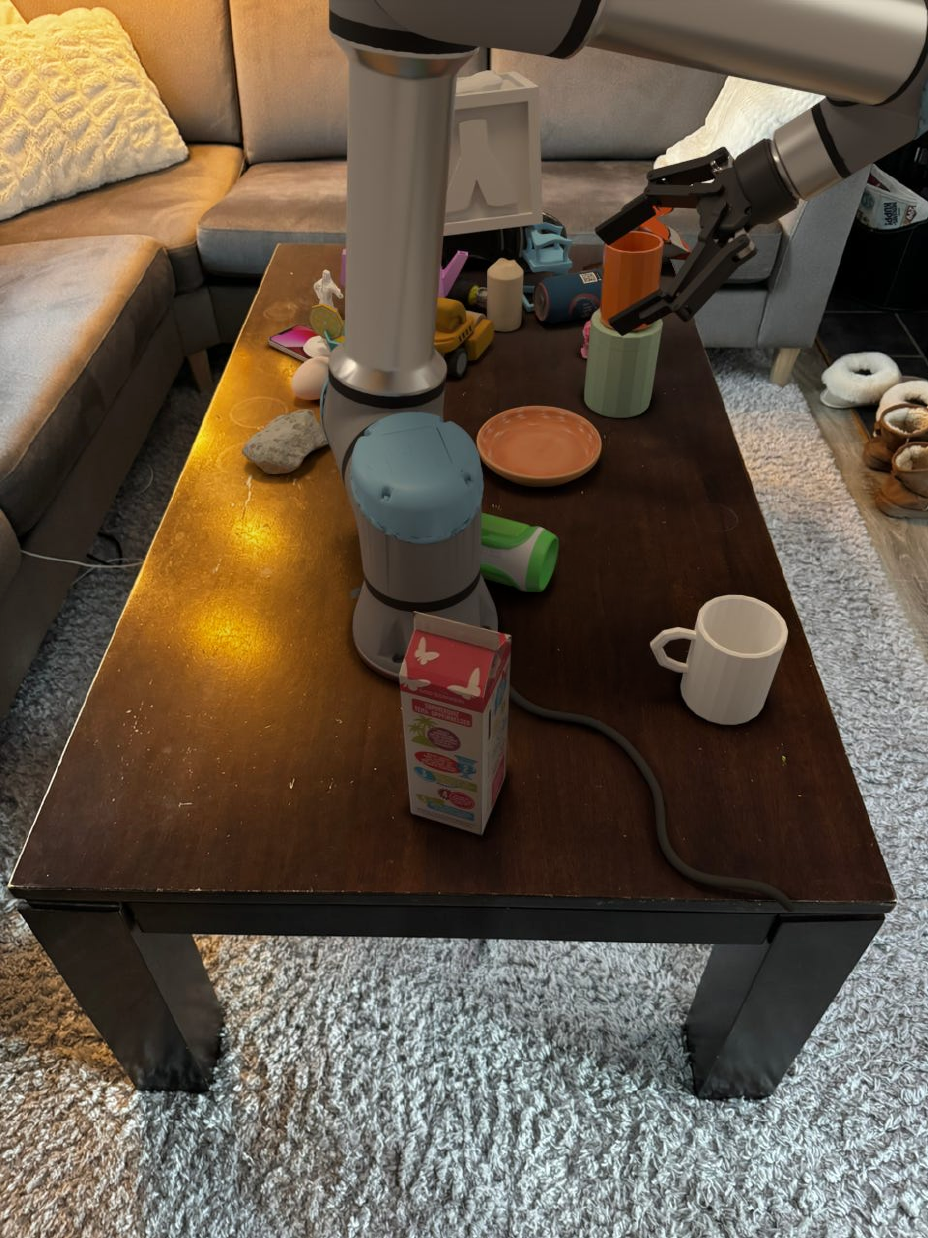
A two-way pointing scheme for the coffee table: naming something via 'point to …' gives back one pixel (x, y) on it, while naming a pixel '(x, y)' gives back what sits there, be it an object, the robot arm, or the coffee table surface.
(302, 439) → the decorative stone
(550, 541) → the speaker
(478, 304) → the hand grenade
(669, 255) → the fish
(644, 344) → the green jar
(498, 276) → the candle
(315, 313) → the cup
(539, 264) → the phone stand
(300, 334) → the smartphone
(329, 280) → the figurine
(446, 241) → the running shoe
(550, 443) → the saucer
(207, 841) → the coffee table surface
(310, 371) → the egg
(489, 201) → the decorative block
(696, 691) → the mug
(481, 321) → the toy roller
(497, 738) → the juice carton
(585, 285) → the soda can
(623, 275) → the orange cup
